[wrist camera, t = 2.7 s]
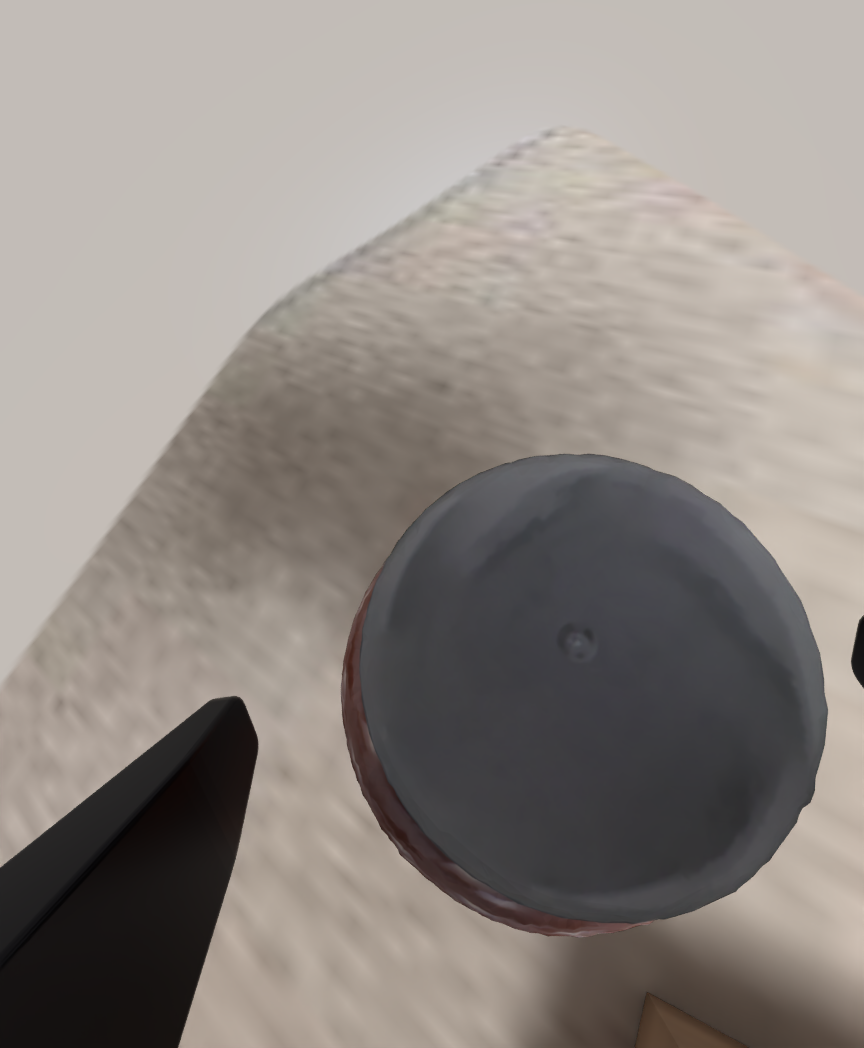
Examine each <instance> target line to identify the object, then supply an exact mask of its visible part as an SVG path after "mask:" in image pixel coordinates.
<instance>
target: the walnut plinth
mask: <svg viewBox="0 0 864 1048" xmlns="http://www.w3.org/2000/svg"><path fill="white" fill-rule="evenodd" d="M635 1048H749V1047H747V1046H745V1045H743V1044H741V1043H740V1042H738V1041H736V1040H734V1039H732V1038H730V1037H729V1036H727V1035H725V1034H723V1033H721V1032H719V1031H718V1030H716V1029H714V1028H712V1027H710V1026H708V1025H707V1024H705V1023H703V1022H701V1021H699V1020H697V1019H696V1018H694V1017H692V1016H690V1015H688V1014H686V1013H685V1012H683V1011H681V1010H679V1009H677V1008H675V1007H674V1006H672V1005H670V1004H668V1003H666V1002H664V1001H662V1000H661V999H659V998H657V997H655V996H653V995H651V994H650V993H648V992H647V994H646V999H645V1003H644V1008H643V1012H642V1017H641V1021H640V1026H639V1031H638V1035H637V1040H636V1044H635Z"/></svg>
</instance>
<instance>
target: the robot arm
mask: <svg viewBox="0 0 864 1048" xmlns="http://www.w3.org/2000/svg"><path fill="white" fill-rule="evenodd" d="M851 666H852V670H853V673H854V675H855V677H856V678H857V680H858V681H859V683H860V684H861V685H862V687H863V688H864V615H863V616H862V618H861V619H860V620H859V623H858V627H857V632H856V637H855V642H854V647H853V652H852V658H851ZM257 755H258V737H257V734H256V731H255V729H254V726H253V724H252V721H251V719H250V716H249V714H248V711H247V708H246V706H245V704H244V702H243V700H242V699H241V698H240V697H237V696H231V697H223V698H216V699H212V700H210V701H209V702H207V703H206V704H205V705H204V706H202V707H201V708H200V709H199V710H197V711H196V712H195V713H194V714H192V715H191V716H190V717H189V718H187V719H186V720H185V721H184V722H182V723H181V724H180V725H179V726H177V727H176V728H175V729H174V730H172V731H171V732H170V733H169V734H167V735H166V736H165V737H164V738H162V739H161V740H160V741H158V742H157V743H156V744H155V745H153V746H152V747H151V748H150V749H148V750H147V751H146V752H145V753H143V754H142V755H141V756H140V757H138V758H137V759H136V760H135V761H133V762H132V763H131V764H130V765H128V766H127V767H126V768H125V769H123V770H122V771H121V772H120V773H118V774H117V775H116V776H115V777H113V778H112V779H111V780H110V781H108V782H107V783H106V784H105V785H103V786H102V787H101V788H100V789H98V790H97V791H96V792H95V793H93V794H92V795H91V796H89V797H88V798H87V799H86V800H84V801H83V802H82V803H81V804H79V805H78V806H77V807H76V808H74V809H73V810H72V811H71V812H69V813H68V814H67V815H66V816H64V817H63V818H62V819H61V820H59V821H58V822H57V823H56V824H54V825H53V826H52V827H51V828H49V829H48V830H47V831H46V832H44V833H43V834H42V835H41V836H39V837H38V838H37V839H36V840H34V841H33V842H32V843H31V844H29V845H28V846H27V847H25V848H24V849H23V850H22V851H20V852H19V853H18V854H17V855H15V856H14V857H13V858H12V859H10V860H9V861H8V862H7V863H5V864H4V865H3V866H2V867H0V1048H178V1047H179V1043H180V1040H181V1037H182V1033H183V1030H184V1027H185V1024H186V1020H187V1017H188V1014H189V1011H190V1007H191V1004H192V1001H193V998H194V994H195V991H196V988H197V985H198V981H199V978H200V975H201V971H202V968H203V965H204V962H205V958H206V955H207V952H208V949H209V945H210V942H211V939H212V936H213V932H214V929H215V926H216V923H217V919H218V916H219V913H220V909H221V906H222V903H223V900H224V896H225V893H226V890H227V887H228V883H229V880H230V877H231V873H232V870H233V866H234V863H235V859H236V855H237V851H238V847H239V842H240V838H241V833H242V828H243V823H244V818H245V813H246V808H247V803H248V799H249V794H250V789H251V784H252V779H253V774H254V769H255V764H256V759H257Z"/></svg>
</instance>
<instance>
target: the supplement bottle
mask: <svg viewBox="0 0 864 1048" xmlns="http://www.w3.org/2000/svg"><path fill="white" fill-rule="evenodd" d="M341 702H342V716H343V724H344V729H345V734H346V738H347V746H348V750H349V753H350V758H351V763H352V767H353V769H354V771H355V774H356V778H357V781H358V783H359V784H360V787H361V791H362V794H363V796H364V797H365V799H366V800H367V802H368V804H369V806H370V808H371V810H372V812H373V814H374V815H375V817H376V819H377V821H378V823H379V825H380V827H381V829H382V830H383V831H384V832H385V833H386V834H387V835H388V837H389V839H390V840H391V841H392V842H393V843H394V844H395V846H396V847H397V849H398V851H399V853H400V855H401V856H402V857H403V858H404V859H406V860H407V861H408V862H409V863H410V864H411V865H413V866H414V867H415V868H416V869H417V870H418V871H419V872H420V873H421V874H422V875H423V876H424V877H425V878H426V879H428V880H429V881H431V882H432V883H434V884H435V885H436V886H437V887H438V888H439V889H440V890H442V891H443V892H444V893H446V894H447V895H449V896H450V897H451V898H452V899H454V900H455V901H457V902H459V903H461V904H462V905H464V906H466V907H468V908H469V909H471V910H473V911H476V912H478V913H479V914H481V915H482V916H484V917H487V918H489V919H490V920H492V921H496V922H499V923H503V924H505V925H508V926H510V927H512V928H515V929H518V930H523V931H527V932H529V933H540V934H543V935H546V936H573V937H590V936H593V935H596V934H599V933H614V932H618V931H623V930H626V929H630V928H633V927H636V926H639V925H648V924H650V923H651V922H653V921H654V920H657V919H667V918H671V917H675V916H678V915H682V914H685V913H689V912H692V911H695V910H697V909H699V908H701V907H703V906H705V905H707V904H710V903H712V902H714V901H716V900H718V899H720V898H722V897H725V896H727V895H729V894H731V893H733V892H736V891H737V890H738V888H740V887H741V886H742V885H743V884H744V883H746V882H747V881H748V880H749V879H751V878H752V877H753V876H754V875H755V874H756V873H757V872H758V870H759V869H760V868H761V867H762V866H763V865H764V864H766V863H767V862H769V861H770V859H771V858H772V856H773V855H774V853H775V852H776V850H777V849H778V848H779V846H780V845H781V843H782V842H783V841H784V840H785V838H786V837H787V835H788V834H789V832H790V831H791V830H792V828H793V827H794V825H795V824H796V823H797V819H798V816H799V814H800V812H801V810H802V808H803V807H805V806H806V805H808V804H809V803H810V802H811V800H812V797H813V794H814V791H815V777H816V774H817V770H818V767H819V764H820V760H821V757H822V753H823V749H824V746H825V736H826V726H827V715H828V707H827V703H826V698H825V693H824V677H823V670H822V663H821V657H820V652H819V649H818V647H817V644H816V641H815V639H814V636H813V633H812V630H811V628H810V624H809V621H808V618H807V615H806V612H805V610H804V607H803V605H802V602H801V600H800V598H799V597H798V595H797V594H796V592H795V590H794V589H793V587H792V586H791V584H790V583H789V581H788V580H787V578H786V577H785V575H784V574H783V573H782V571H781V570H780V568H779V566H778V564H777V562H776V561H775V559H774V558H773V557H772V555H771V554H770V553H769V552H768V551H767V549H766V548H765V547H764V546H763V545H762V544H761V543H760V542H759V541H758V539H757V538H756V537H755V536H754V535H753V534H752V532H751V531H750V530H749V529H748V528H747V527H746V526H745V524H744V523H743V522H742V521H740V520H739V519H737V518H736V517H734V516H733V515H732V514H731V513H730V512H729V511H728V510H727V509H726V508H725V507H723V506H722V505H721V504H720V503H718V502H717V501H715V500H713V499H711V498H710V497H708V496H706V495H705V494H703V493H702V492H700V491H699V490H698V489H696V488H695V487H693V486H692V485H690V484H688V483H687V482H685V481H683V480H681V479H679V478H677V477H675V476H672V475H669V474H665V473H662V472H658V471H655V470H653V469H651V468H649V467H646V466H644V465H641V464H638V463H634V462H630V461H627V460H623V459H619V458H614V457H609V456H604V455H595V454H583V455H572V454H558V455H549V456H534V457H529V458H524V459H520V460H517V461H514V462H512V463H505V464H503V465H500V466H497V467H495V468H492V469H489V470H487V471H484V472H481V473H479V474H477V475H475V476H473V477H472V478H470V479H468V480H466V481H464V482H462V483H460V484H458V485H457V486H455V487H454V488H452V489H451V490H449V491H448V492H446V493H445V494H444V495H443V496H441V497H440V498H439V499H438V500H437V501H435V502H434V503H433V504H432V505H430V506H429V507H428V508H427V509H425V511H424V512H423V513H422V514H421V515H420V516H419V517H418V518H417V519H416V520H415V521H414V522H413V523H412V525H411V526H410V527H409V528H408V529H407V530H406V532H405V533H404V534H403V536H402V537H401V539H400V540H399V541H398V542H397V544H396V545H395V547H394V549H393V551H392V553H391V554H390V556H389V557H388V558H387V559H386V561H385V562H384V564H383V566H382V567H381V569H380V570H379V571H378V573H377V574H376V576H375V577H374V579H373V581H372V583H371V584H370V586H369V588H368V589H367V591H366V593H365V595H364V598H363V600H362V602H361V605H360V607H359V609H358V611H357V613H356V615H355V618H354V620H353V624H352V628H351V632H350V635H349V639H348V643H347V648H346V652H345V657H344V663H343V671H342V683H341Z"/></svg>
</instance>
